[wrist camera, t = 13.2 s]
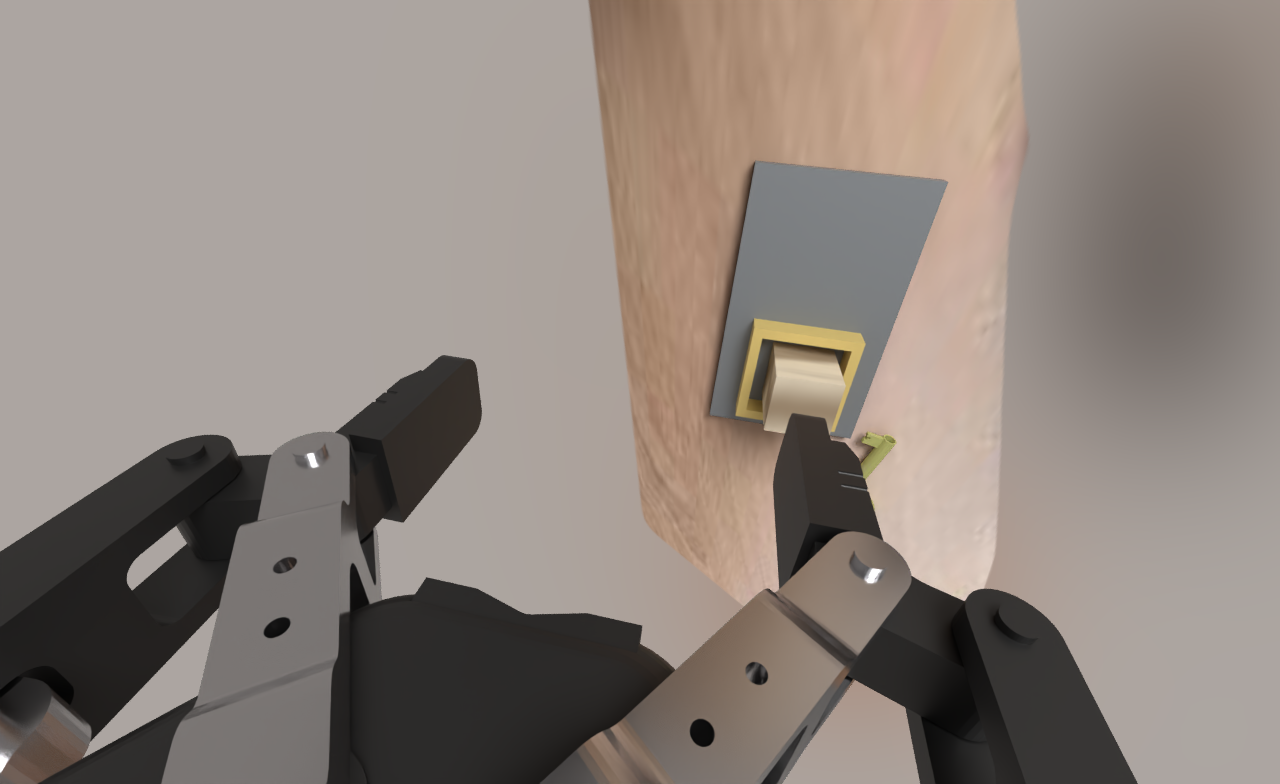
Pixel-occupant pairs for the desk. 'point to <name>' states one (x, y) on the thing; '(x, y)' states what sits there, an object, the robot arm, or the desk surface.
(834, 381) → the beech block
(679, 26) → the desk surface
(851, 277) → the puzzle board
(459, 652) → the robot arm
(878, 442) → the key
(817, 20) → the desk surface
